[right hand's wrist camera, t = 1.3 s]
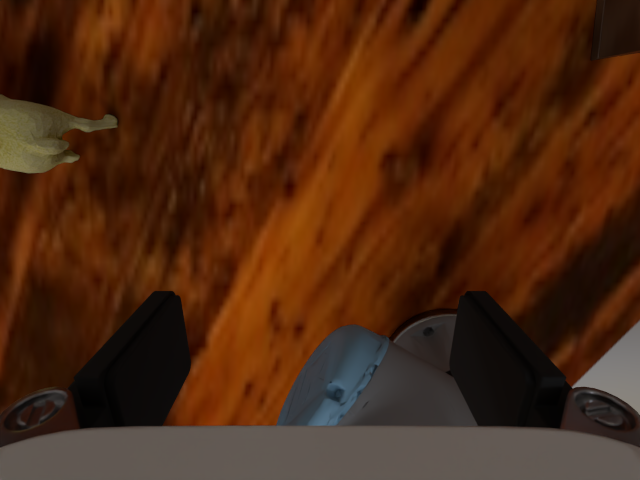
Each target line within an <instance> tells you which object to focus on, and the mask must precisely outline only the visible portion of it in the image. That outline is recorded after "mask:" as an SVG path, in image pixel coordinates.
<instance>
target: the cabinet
mask: <svg viewBox="0 0 640 480" xmlns="http://www.w3.org/2000/svg"><path fill="white" fill-rule="evenodd" d="M634 53H640V0H597V7H596V16H595V25H594V35H593V44H592V53H591V60H597V59H603V58H610V57H616V56H622V55H628V54H634Z"/></svg>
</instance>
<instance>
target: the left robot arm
mask: <svg viewBox="0 0 640 480" xmlns="http://www.w3.org/2000/svg"><path fill="white" fill-rule="evenodd" d="M456 316H457V310H454V309H441V310H433V311H429V312H425V313H423V314H420V315H418V316H415V317H413V318H412V319H410V320H408V321H407V322H405V323H404V324H403V325H402V326H400V327H399V328H398V329H397V330H396V331H395V333H394V334H393V335H392V337H391V338H390V340H389V338H388V337H386V336H385V335H378V334H376V333H374V332H372V331H370V330H368V329H366V328H364V327H362V326H359V325H347V326H343V327H340V328H338V329H336V330H335V331H333V332H332V333H331V334H330V335H329V336H327V337H326V338H325V339H324V340H323V342H322V343H321V344H320V345H319V346H318V347H317V349H316V350H315V351H314V352H313V354H312V355H311V356H310V358H309V359H308V361H307V362H306V364H305V365H304V367H303V369H302V370H301V372H300V374H299V375H298V377H297V379H296V380H295V382H294V384H293V386H292V388H291V390H290V392H289V394H288V396H287V398H286V401H285V403H284V405H283V408H282V410H281V413H280V416H279V418H278V422H277V425H276V426H478V425H477V423H476V421H475V419H474V417H473V415H472V413H471V411H470V409H469V407H468V405H467V403H466V401H465V399H464V397H463V395H462V393H461V391H460V389H459V387H458V385H457V383H456V381H455V379H454V378H453V376H452V374H451V371H450V366H449V360H450V354H451V347H452V341H453V335H454V329H455V322H456Z"/></svg>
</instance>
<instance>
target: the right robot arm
mask: <svg viewBox="0 0 640 480" xmlns="http://www.w3.org/2000/svg"><path fill="white" fill-rule="evenodd" d="M190 366H191V360H190V354H189V347H188V341H187V335H186V329H185V322H184V316H183V310H182V304H181V299H180V296H178V295H175V293H174V292H173V291H154V292H153V293H152V294H151V295H150V296H149V297H148V298H147V299H146V300H145V302H144V303H143V304H142V305H141V306H140V307H139V308H138V309H137V310H136V311H135V312H134V313H133V314H132V315H131V317H130V318H129V319H128V320H127V321H126V322H125V323H124V324H123V325H122V326H121V327H120V328H119V329H118V330H117V332H116V333H115V334H114V335H113V336H112V337H111V338H110V339H109V340H108V341H107V342H106V343H105V344H104V345H103V347H102V348H101V349H100V350H99V351H98V352H97V353H96V354H95V355H94V356H93V357H92V358H91V359H90V360H89V362H88V363H87V364H86V365H85V366H84V367H83V368H82V369H81V370H80V371H79V372H78V373H77V374H76V375H75V377H74V380H75V381H74V382H73V383H72V384H71V385H70V386H69V387H68V388H64V387H51V388H45V389H42V390H39V391H35V392H33V393H31V394H29V395H26V396H24V397H22V398H21V399H19V400H18V401H16V402H14V403H13V404H11V405H10V406H9V407H8V408H7V409H6V410H4V411H3V412H2V414H1V415H0V480H640V415H639V414H638V412H637V411H636V410H634V409H633V408H632V407H631V406H630V405H629V404H627V403H626V402H624V401H622V400H621V399H619V398H618V397H616V396H613V395H611V394H609V393H607V392H604V391H601V390H598V389H595V388H589V387H576V388H572V387H571V386H570V385H569V384H568V383H567V382H566V381H565V380H566V377H565V375H564V374H563V373H562V372H561V371H560V370H559V369H558V368H557V367H556V366H555V365H554V364H553V363H552V362H551V360H550V359H549V358H548V357H547V356H546V355H545V354H544V353H543V352H542V351H541V350H540V349H539V348H538V347H537V345H536V344H535V343H534V342H533V341H532V340H531V339H530V338H529V337H528V336H527V335H526V334H525V333H524V332H523V330H522V329H521V328H520V327H519V326H518V325H517V324H516V323H515V322H514V321H513V320H512V319H511V318H510V317H509V315H508V314H507V313H506V312H505V311H504V310H503V309H502V308H501V307H500V306H499V305H498V304H497V303H496V302H495V300H494V299H493V298H492V297H491V296H490V295H489V294H488V293H487V292H486V291H467V292H466V293H465V295H462V296H460V299H459V304H458V310H457V316H456V322H455V329H454V335H453V341H452V347H451V354H450V360H449V366H450V371H451V374H452V376H453V378H454V379H455V381H456V383H457V385H458V387H459V389H460V391H461V393H462V395H463V397H464V399H465V401H466V403H467V405H468V407H469V409H470V411H471V413H472V415H473V417H474V419H475V421H476V423H477V425H478V426H162V425H163V423H164V421H165V419H166V417H167V415H168V413H169V411H170V409H171V407H172V405H173V403H174V401H175V399H176V397H177V395H178V393H179V391H180V389H181V387H182V385H183V383H184V381H185V379H186V378H187V376H188V374H189V371H190Z"/></svg>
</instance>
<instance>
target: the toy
mask: <svg viewBox="0 0 640 480" xmlns="http://www.w3.org/2000/svg"><path fill="white" fill-rule="evenodd" d="M117 125H118V119H117V118H116V117H115V116H114V115H111V114H107V115H105V116H104V118H103V119H101V120H95V121H93V120H88V119H84V118H78V117H75V116H73V115H70V114H67V113H65V112H62V111H60V110H58V109H55V108H53V107H49V106H45V105H41V104H37V103H32V102H28V101H21V100H12V99H9V98H7V97H5V96H3V95H1V94H0V167H1V168H4V169H8V170H13V171H20V172H25V173H42V172H46V171H48V170H50V169H52V168H53V167H55V166H56V165H58V164H61V163H63V162H69V163H72V162H74V161H76V160H78V159H79V158H80V155H78V154H75V153H74V152H72V151H71V150H65V149H67V147H68V146H69V142H67V141H65V140H62V135H63V134H64V133H66V132H67V131H69V130H71V129H74V128H77V129H80V130H82V131H84V132H91V131H94V130H101V129H107V128H115V127H117Z"/></svg>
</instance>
